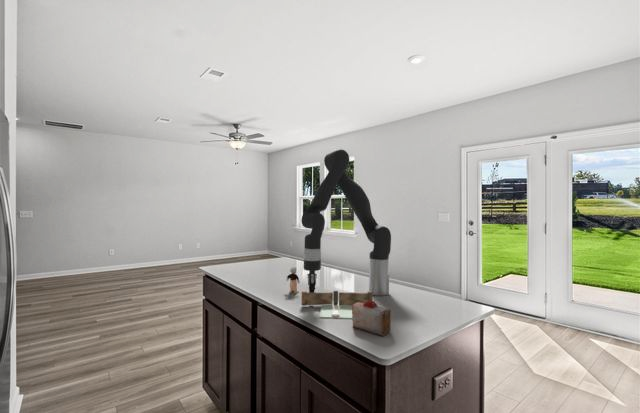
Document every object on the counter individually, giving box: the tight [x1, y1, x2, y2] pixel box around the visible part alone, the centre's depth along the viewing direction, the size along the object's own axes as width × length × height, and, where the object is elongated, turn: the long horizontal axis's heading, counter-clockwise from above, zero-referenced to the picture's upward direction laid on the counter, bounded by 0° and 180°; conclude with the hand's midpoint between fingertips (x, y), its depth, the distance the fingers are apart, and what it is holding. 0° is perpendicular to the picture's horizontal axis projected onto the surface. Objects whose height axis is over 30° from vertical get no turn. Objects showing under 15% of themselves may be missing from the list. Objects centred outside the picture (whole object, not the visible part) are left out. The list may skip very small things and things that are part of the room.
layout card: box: [319, 300, 353, 320], centre depth 132 cm, size 23×21×1 cm
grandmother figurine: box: [286, 266, 301, 294], centre depth 156 cm, size 8×4×13 cm, turn 71°
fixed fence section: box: [338, 290, 374, 306], centre depth 136 cm, size 14×2×6 cm, turn 87°
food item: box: [351, 299, 392, 337], centre depth 111 cm, size 14×8×10 cm, turn 49°
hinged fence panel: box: [301, 290, 339, 306], centre depth 136 cm, size 16×2×6 cm, turn 97°
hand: (311, 298), depth 138 cm, fingers closed
